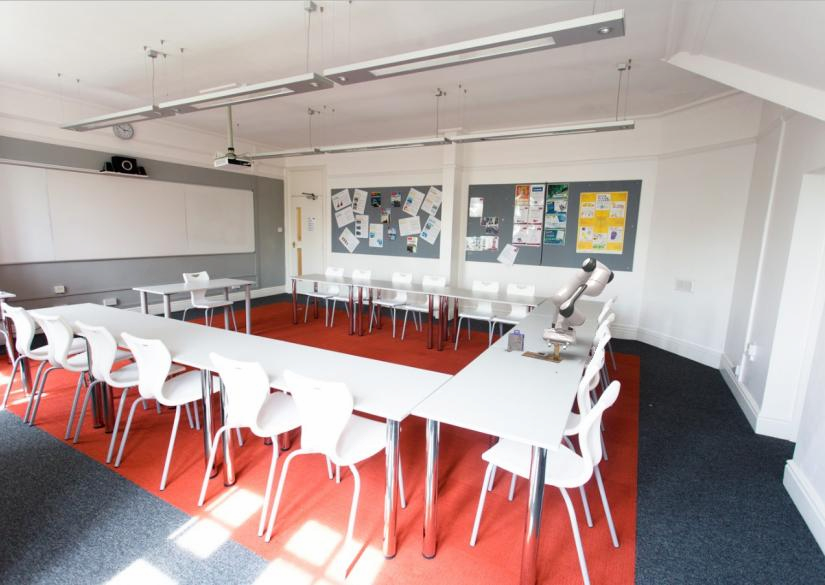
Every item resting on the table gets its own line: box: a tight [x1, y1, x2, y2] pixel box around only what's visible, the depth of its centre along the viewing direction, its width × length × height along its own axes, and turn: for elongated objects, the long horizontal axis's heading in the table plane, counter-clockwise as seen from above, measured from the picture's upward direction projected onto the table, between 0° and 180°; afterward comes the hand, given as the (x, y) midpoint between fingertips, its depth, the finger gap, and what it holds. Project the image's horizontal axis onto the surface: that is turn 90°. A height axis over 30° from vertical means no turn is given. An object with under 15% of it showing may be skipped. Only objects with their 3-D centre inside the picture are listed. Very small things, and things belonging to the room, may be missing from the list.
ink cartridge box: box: [506, 329, 525, 352], centre depth 271 cm, size 10×6×14 cm, turn 63°
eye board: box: [520, 350, 565, 364], centre depth 257 cm, size 12×24×4 cm, turn 54°
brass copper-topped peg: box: [553, 343, 561, 360], centre depth 251 cm, size 3×3×10 cm
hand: (556, 347), depth 253 cm, fingers open, 8 cm apart
